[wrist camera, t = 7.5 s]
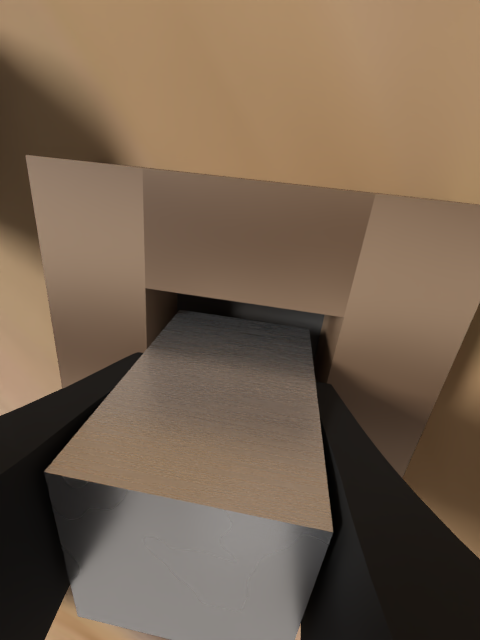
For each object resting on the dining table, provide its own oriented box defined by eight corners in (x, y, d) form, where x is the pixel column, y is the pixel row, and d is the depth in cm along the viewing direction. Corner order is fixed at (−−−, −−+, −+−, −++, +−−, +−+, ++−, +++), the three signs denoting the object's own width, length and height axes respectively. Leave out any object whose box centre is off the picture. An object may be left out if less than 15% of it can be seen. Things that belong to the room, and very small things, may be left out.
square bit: (287, 429, 11) (284, 668, 6) (178, 410, 12) (78, 616, 6) (309, 329, 9) (333, 532, 4) (179, 309, 10) (44, 471, 4)
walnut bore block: (357, 471, 14) (374, 542, 11) (116, 425, 15) (76, 480, 12) (452, 201, 9) (520, 209, 6) (95, 162, 10) (25, 154, 7)
